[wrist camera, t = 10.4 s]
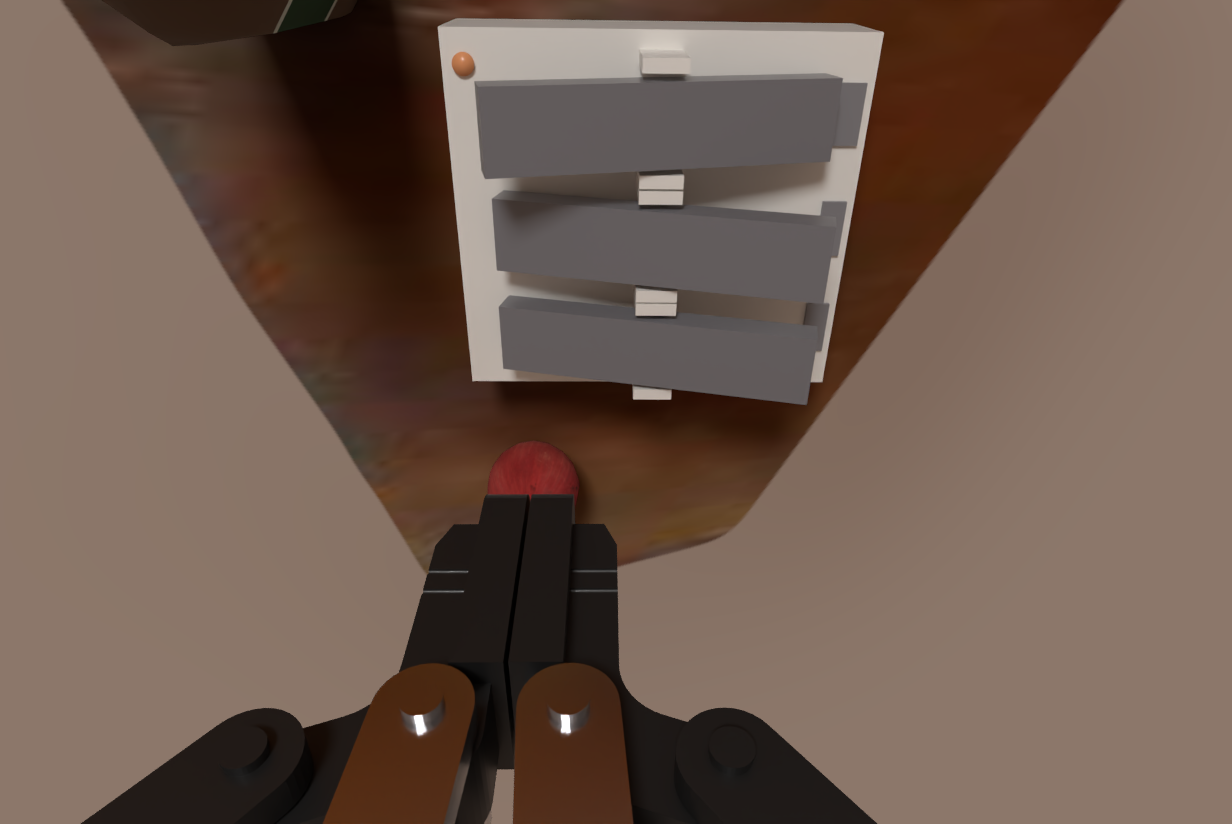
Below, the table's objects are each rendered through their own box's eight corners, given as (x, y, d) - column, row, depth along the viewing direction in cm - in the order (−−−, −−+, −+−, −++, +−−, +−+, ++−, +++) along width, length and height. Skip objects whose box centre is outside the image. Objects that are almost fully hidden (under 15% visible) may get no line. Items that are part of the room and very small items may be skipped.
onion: (596, 445, 51) (596, 520, 44) (551, 500, 54) (544, 580, 47) (523, 403, 50) (510, 475, 43) (480, 463, 52) (461, 540, 45)
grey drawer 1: (474, 81, 31) (477, 86, 30) (825, 73, 35) (843, 78, 33) (481, 169, 33) (484, 179, 32) (813, 154, 36) (829, 161, 35)
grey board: (509, 295, 40) (498, 306, 39) (817, 326, 37) (817, 340, 36) (513, 355, 42) (503, 368, 41) (806, 389, 39) (806, 405, 38)
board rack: (456, 18, 38) (422, 33, 31) (852, 23, 38) (910, 39, 31) (484, 342, 47) (463, 412, 40) (802, 343, 48) (837, 412, 40)
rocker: (503, 190, 37) (491, 198, 36) (836, 216, 34) (836, 227, 33) (508, 259, 39) (496, 270, 38) (823, 291, 36) (823, 304, 35)
